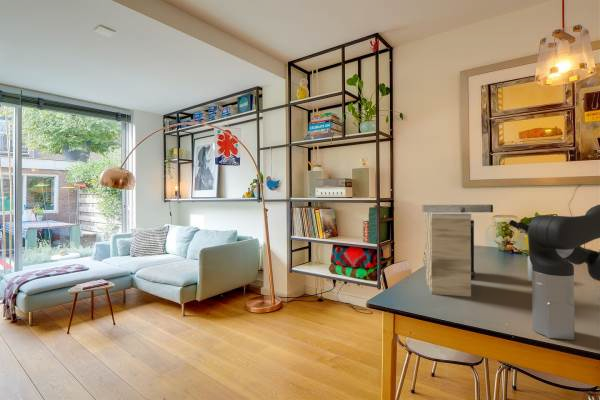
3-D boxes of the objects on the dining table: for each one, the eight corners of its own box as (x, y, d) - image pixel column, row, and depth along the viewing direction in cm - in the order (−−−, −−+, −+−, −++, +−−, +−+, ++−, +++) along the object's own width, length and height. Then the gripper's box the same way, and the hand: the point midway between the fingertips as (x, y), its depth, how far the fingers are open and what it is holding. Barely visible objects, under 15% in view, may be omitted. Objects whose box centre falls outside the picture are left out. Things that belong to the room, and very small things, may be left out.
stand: (471, 297, 120) (471, 208, 119) (432, 294, 124) (431, 208, 123) (458, 281, 141) (458, 206, 141) (425, 279, 145) (424, 206, 144)
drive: (492, 212, 125) (492, 204, 125) (423, 212, 132) (423, 205, 132) (489, 211, 129) (489, 204, 129) (422, 211, 136) (422, 204, 136)
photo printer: (535, 277, 147) (535, 250, 146) (546, 279, 143) (546, 252, 143) (525, 280, 141) (525, 253, 141) (536, 283, 137) (536, 254, 137)
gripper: (551, 233, 128) (512, 213, 132) (571, 238, 114) (527, 215, 118) (541, 249, 129) (502, 228, 133) (559, 255, 115) (515, 232, 119)
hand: (513, 222), depth 125 cm, fingers open, 8 cm apart
